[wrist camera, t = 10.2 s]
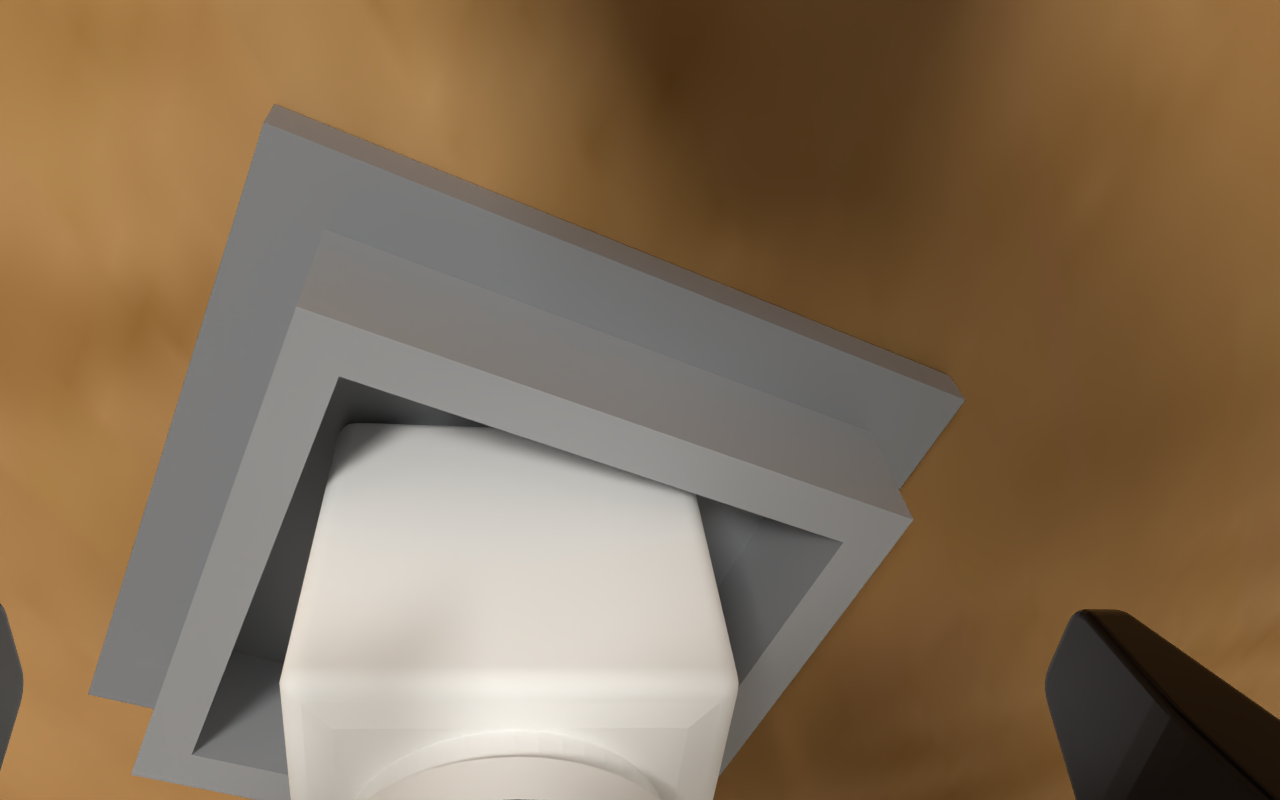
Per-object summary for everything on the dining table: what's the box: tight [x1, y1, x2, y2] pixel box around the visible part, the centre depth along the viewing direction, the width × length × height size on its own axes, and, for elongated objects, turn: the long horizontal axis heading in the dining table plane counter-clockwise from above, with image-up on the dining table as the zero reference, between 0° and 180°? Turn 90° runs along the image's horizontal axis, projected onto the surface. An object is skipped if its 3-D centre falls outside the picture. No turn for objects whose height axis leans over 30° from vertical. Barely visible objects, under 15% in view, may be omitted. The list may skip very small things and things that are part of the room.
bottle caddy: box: [88, 104, 965, 800], centre depth 23 cm, size 15×15×4 cm
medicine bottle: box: [279, 423, 739, 800], centre depth 19 cm, size 7×7×12 cm
